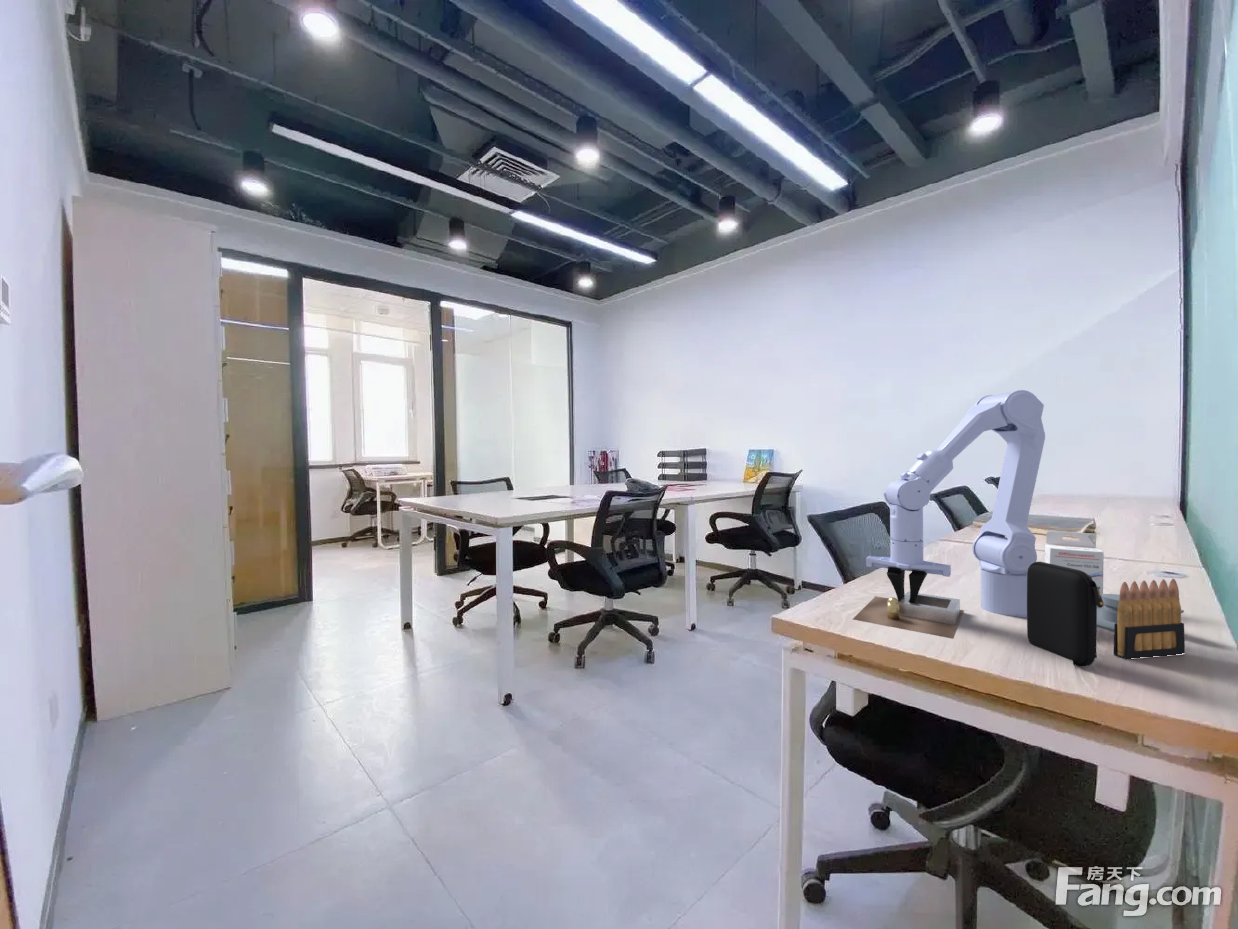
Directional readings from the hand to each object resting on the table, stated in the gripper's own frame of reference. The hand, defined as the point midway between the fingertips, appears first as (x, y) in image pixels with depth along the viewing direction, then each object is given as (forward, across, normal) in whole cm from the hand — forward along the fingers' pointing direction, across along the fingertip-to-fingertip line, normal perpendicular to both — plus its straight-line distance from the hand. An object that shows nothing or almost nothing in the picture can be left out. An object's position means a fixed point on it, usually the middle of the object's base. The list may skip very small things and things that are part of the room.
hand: (907, 606), depth 97 cm
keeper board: (+2, +1, -3) cm, 4 cm away
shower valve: (+2, +32, +17) cm, 37 cm away
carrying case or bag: (+2, +23, -9) cm, 25 cm away
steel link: (+1, +4, 0) cm, 4 cm away
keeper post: (+1, -1, -7) cm, 7 cm away
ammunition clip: (+2, +33, +1) cm, 33 cm away
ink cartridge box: (+2, +26, +29) cm, 39 cm away
